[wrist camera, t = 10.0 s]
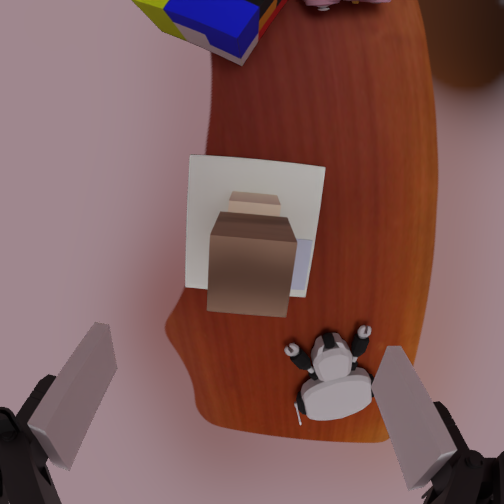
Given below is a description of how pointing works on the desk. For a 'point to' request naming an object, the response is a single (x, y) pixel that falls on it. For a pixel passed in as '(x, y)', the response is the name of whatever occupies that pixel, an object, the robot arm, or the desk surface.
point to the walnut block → (250, 264)
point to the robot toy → (333, 377)
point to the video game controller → (326, 0)
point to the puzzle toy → (215, 23)
